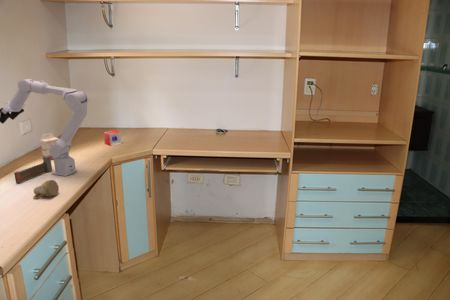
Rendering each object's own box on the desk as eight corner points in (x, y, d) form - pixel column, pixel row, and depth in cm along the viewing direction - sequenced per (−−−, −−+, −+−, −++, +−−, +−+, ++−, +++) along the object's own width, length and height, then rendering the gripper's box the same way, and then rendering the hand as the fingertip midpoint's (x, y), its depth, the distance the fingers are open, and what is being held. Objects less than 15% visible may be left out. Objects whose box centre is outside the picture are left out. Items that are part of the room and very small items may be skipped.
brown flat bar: (47, 171, 187) (45, 161, 185) (18, 183, 171) (16, 173, 170) (45, 171, 187) (43, 161, 186) (16, 183, 172) (14, 172, 170)
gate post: (52, 170, 189) (50, 156, 187) (48, 172, 186) (46, 158, 184) (48, 170, 190) (46, 156, 188) (44, 171, 187) (42, 157, 185)
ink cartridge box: (47, 161, 204) (43, 136, 200) (43, 159, 207) (38, 134, 203) (61, 157, 210) (58, 133, 206) (57, 156, 213) (54, 131, 209)
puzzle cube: (115, 141, 243) (114, 130, 241) (121, 143, 238) (120, 132, 236) (104, 144, 238) (103, 132, 235) (110, 146, 232) (109, 134, 230)
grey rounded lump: (38, 192, 162) (47, 173, 161) (55, 203, 161) (65, 184, 160) (26, 195, 155) (35, 175, 154) (44, 206, 154) (54, 186, 152)
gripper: (20, 92, 184) (9, 112, 188) (1, 97, 170) (-11, 118, 174) (32, 100, 185) (20, 120, 189) (14, 106, 171) (1, 127, 175)
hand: (6, 120), depth 181 cm, fingers open, 7 cm apart
